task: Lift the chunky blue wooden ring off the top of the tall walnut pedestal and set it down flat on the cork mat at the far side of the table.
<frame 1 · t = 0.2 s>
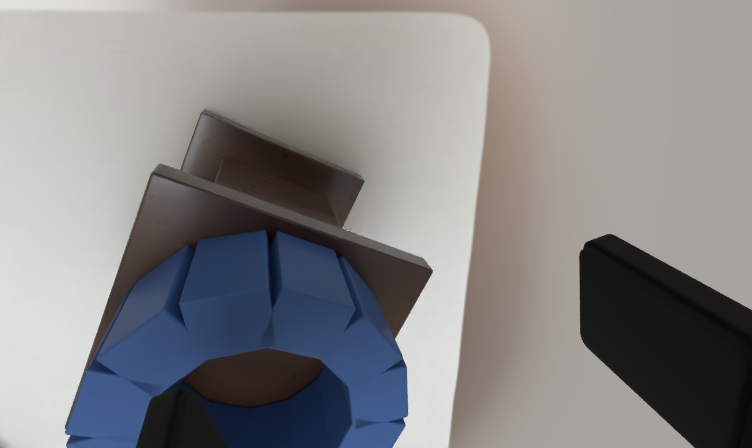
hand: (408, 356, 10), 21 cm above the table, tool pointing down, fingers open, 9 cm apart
ring: (256, 347, 17), point 14 cm above the table, touching platform
platform: (257, 217, 29), on the table
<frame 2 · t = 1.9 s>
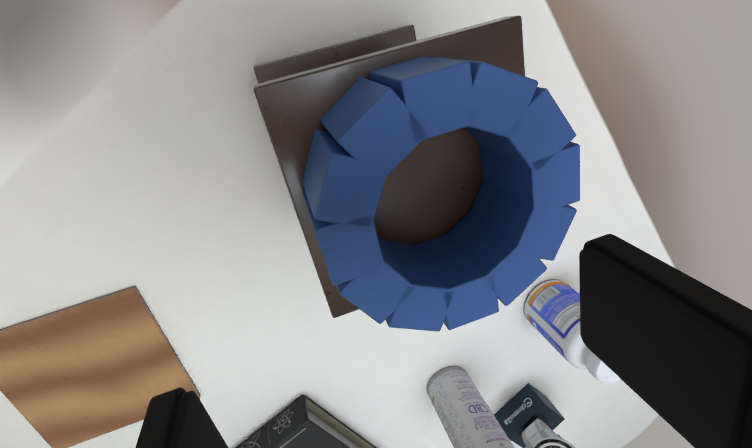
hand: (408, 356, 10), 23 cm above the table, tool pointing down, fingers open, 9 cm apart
container: (446, 382, 44), on the table
watch: (519, 405, 49), on the table
ring: (419, 181, 18), point 14 cm above the table, touching platform
mat: (94, 371, 33), on the table
platform: (352, 124, 31), on the table
pill bottle: (544, 299, 43), on the table
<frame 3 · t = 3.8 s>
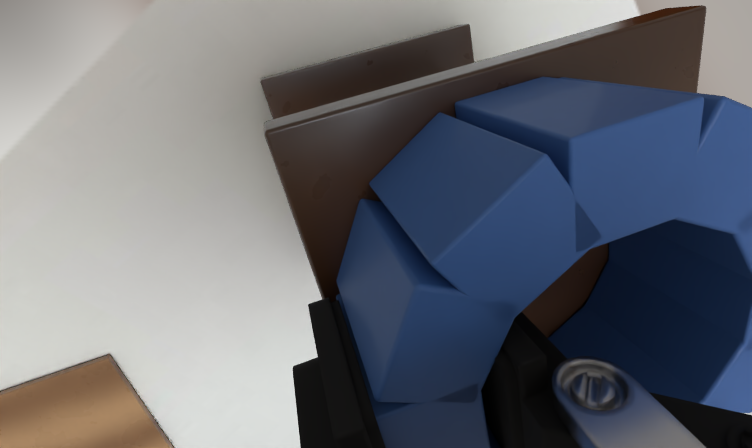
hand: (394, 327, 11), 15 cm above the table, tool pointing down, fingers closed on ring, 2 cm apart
ring: (515, 268, 12), point 14 cm above the table, touching gripper, platform
platform: (385, 150, 24), on the table
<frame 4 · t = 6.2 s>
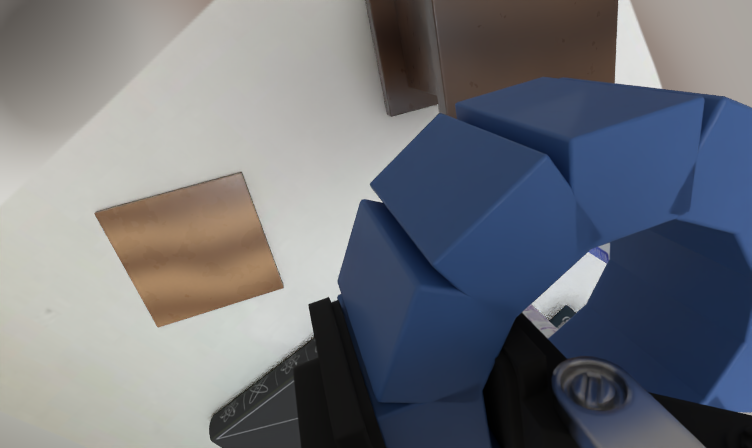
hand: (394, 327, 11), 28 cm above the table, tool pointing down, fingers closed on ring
book: (331, 389, 48), on the table
container: (494, 296, 49), on the table
ring: (516, 268, 12), point 27 cm above the table, touching gripper
mat: (198, 252, 38), on the table
platform: (436, 34, 35), on the table
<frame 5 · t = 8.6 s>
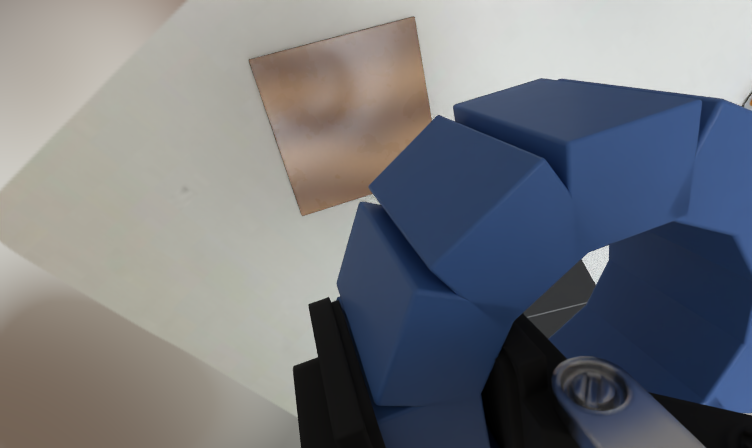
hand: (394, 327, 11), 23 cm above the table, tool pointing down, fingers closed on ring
book: (470, 304, 42), on the table
ring: (515, 269, 12), point 23 cm above the table, touching gripper
mat: (353, 121, 32), on the table
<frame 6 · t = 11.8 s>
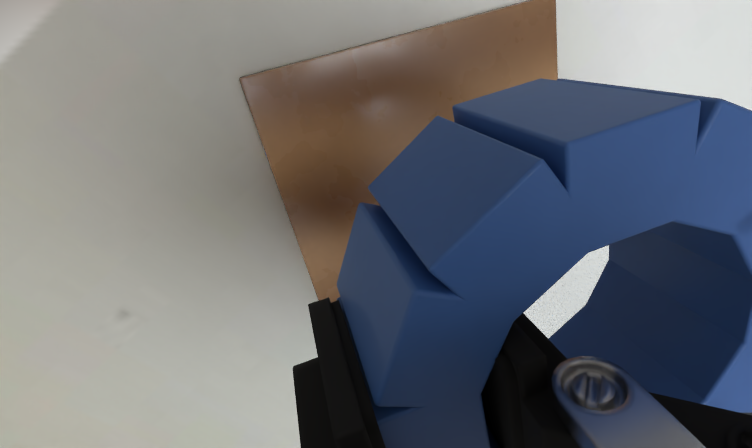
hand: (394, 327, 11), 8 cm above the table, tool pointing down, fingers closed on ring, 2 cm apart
ring: (515, 269, 12), point 7 cm above the table, touching gripper
mat: (429, 184, 18), on the table
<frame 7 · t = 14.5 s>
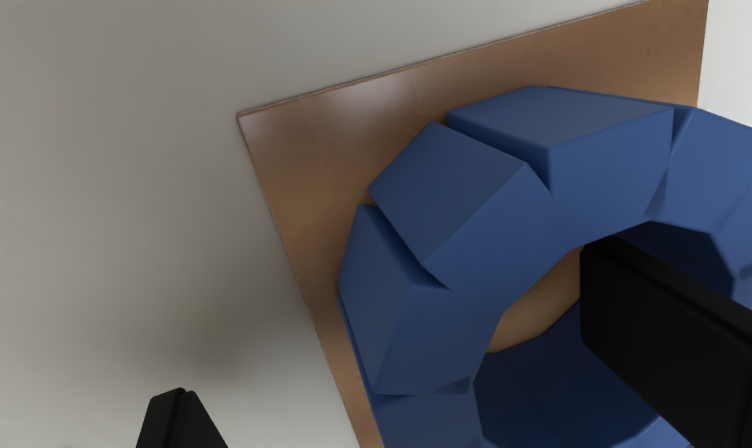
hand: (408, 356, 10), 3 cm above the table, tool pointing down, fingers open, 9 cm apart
ring: (508, 267, 12), resting on mat
mat: (506, 255, 13), on the table
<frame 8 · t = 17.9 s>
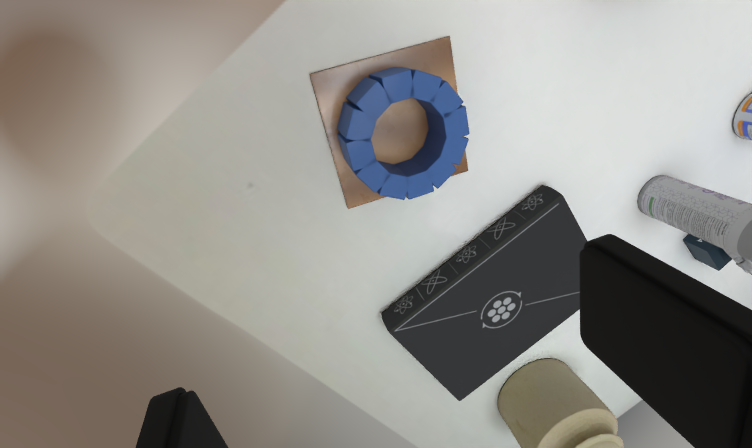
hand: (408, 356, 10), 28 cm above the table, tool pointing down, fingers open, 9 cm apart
book: (490, 290, 47), on the table
container: (653, 194, 48), on the table
watch: (704, 233, 52), on the table
sugar bowl: (539, 396, 57), on the table
ring: (395, 129, 36), resting on mat
mat: (395, 126, 37), on the table
pill bottle: (749, 113, 47), on the table
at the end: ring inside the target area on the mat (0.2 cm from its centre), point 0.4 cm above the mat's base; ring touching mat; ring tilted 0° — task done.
